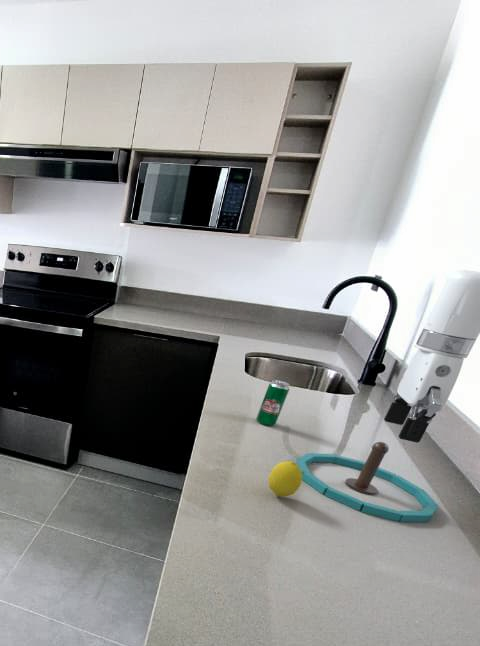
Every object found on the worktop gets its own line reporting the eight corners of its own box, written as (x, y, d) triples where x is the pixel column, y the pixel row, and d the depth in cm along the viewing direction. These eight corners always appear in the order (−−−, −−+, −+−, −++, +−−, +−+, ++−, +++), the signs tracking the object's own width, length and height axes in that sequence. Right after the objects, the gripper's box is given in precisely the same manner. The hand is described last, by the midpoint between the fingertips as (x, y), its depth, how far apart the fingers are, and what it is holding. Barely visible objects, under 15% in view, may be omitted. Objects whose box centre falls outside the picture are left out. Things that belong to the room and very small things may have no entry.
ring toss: (371, 485, 111) (394, 441, 107) (380, 497, 106) (404, 451, 101) (341, 477, 113) (362, 433, 108) (349, 489, 107) (371, 444, 103)
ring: (405, 478, 117) (408, 472, 116) (455, 536, 95) (460, 530, 94) (287, 449, 124) (290, 443, 123) (308, 497, 101) (311, 491, 101)
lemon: (288, 507, 97) (304, 471, 93) (259, 494, 100) (273, 459, 97) (296, 498, 101) (311, 463, 97) (267, 486, 104) (281, 452, 100)
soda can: (254, 422, 139) (269, 381, 134) (257, 417, 143) (272, 378, 138) (273, 428, 136) (289, 387, 131) (276, 423, 140) (292, 383, 135)
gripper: (492, 359, 80) (439, 453, 87) (450, 339, 95) (408, 421, 102) (436, 349, 82) (390, 442, 89) (404, 331, 97) (367, 412, 104)
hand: (400, 431), depth 96 cm, fingers open, 9 cm apart
